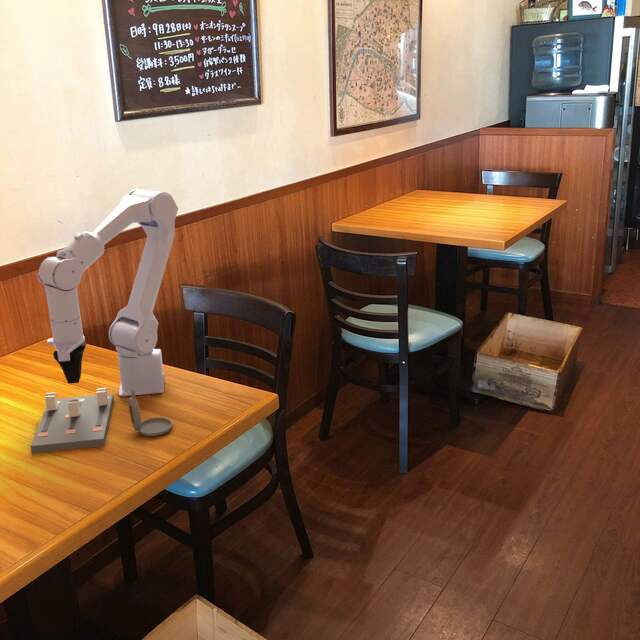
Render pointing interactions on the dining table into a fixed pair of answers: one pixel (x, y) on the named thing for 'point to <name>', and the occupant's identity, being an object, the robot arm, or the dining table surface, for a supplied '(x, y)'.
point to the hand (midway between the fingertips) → (74, 380)
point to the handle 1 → (51, 401)
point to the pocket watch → (150, 425)
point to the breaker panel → (73, 426)
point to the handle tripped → (74, 407)
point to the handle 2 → (102, 396)
